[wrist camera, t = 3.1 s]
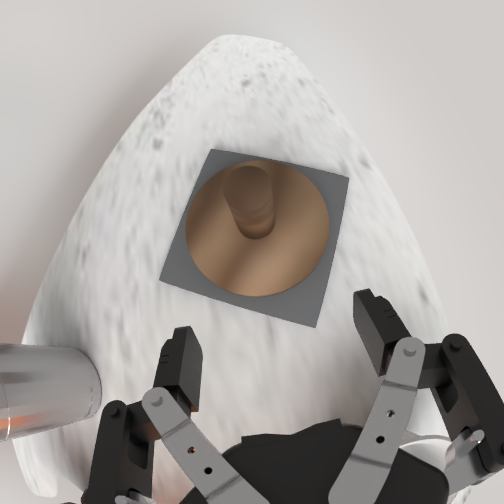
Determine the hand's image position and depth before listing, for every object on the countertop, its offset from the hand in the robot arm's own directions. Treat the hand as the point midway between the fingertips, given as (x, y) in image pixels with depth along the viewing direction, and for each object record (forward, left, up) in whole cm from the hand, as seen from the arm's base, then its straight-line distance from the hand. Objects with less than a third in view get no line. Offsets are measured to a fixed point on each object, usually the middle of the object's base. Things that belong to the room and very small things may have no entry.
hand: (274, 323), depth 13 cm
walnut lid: (-5, +9, -13) cm, 16 cm away
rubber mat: (-5, +9, -14) cm, 17 cm away
